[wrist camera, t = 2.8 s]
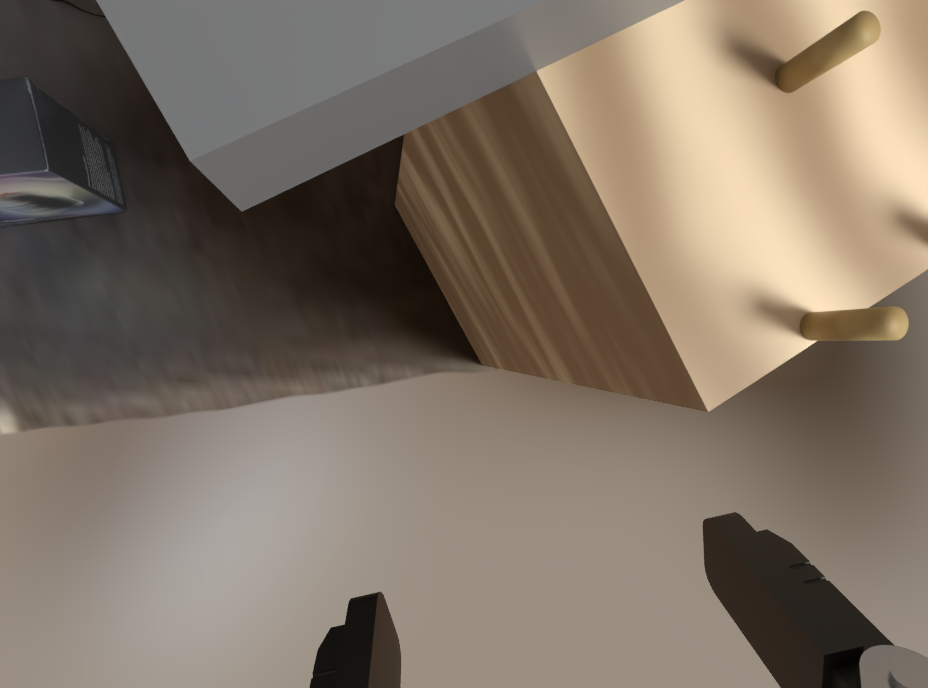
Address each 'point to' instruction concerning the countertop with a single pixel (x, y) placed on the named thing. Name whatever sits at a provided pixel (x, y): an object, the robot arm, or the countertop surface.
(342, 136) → the bar
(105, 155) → the small box
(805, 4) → the oak block
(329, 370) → the countertop surface
